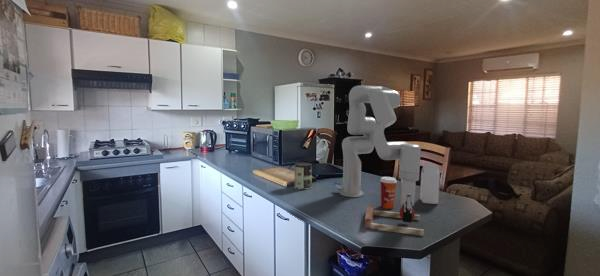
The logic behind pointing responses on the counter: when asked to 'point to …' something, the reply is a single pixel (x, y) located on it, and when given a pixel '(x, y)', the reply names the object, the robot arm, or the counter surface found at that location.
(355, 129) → the robot arm
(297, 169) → the coffee can
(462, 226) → the counter surface
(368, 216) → the wooden u-shaped frame
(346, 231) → the counter surface
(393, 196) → the paper cup
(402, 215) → the red apple
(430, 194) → the milk carton
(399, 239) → the counter surface
